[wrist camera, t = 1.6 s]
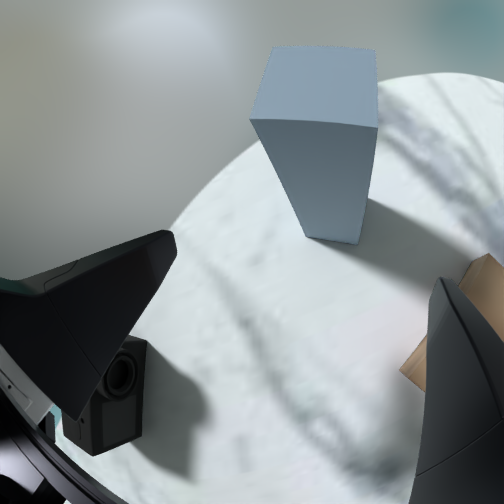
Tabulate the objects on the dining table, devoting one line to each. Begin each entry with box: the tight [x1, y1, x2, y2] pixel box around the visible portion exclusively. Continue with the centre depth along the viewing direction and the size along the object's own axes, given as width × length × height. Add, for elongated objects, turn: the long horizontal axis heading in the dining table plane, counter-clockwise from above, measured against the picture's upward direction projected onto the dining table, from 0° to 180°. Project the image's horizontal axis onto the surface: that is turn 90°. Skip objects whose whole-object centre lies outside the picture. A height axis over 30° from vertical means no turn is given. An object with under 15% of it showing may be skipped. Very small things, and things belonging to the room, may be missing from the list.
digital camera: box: [61, 335, 147, 456], centre depth 20 cm, size 10×5×7 cm, turn 172°
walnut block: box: [399, 253, 504, 392], centre depth 14 cm, size 10×10×3 cm
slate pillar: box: [250, 46, 378, 245], centre depth 15 cm, size 4×4×14 cm
